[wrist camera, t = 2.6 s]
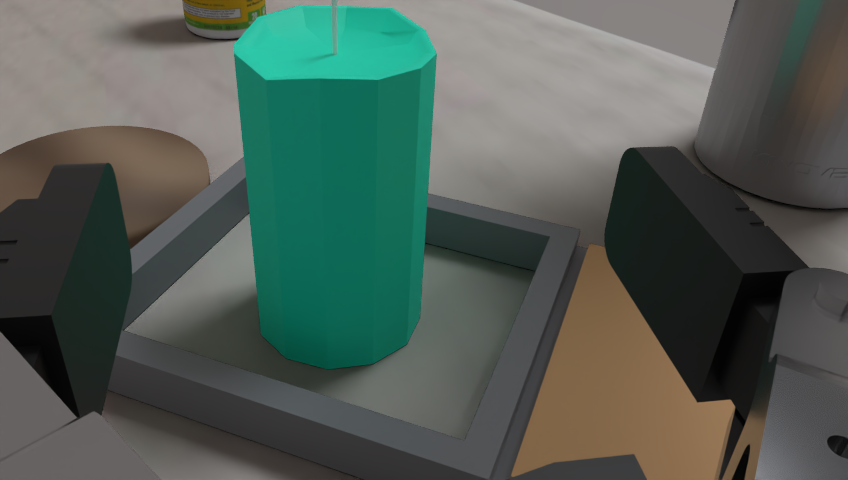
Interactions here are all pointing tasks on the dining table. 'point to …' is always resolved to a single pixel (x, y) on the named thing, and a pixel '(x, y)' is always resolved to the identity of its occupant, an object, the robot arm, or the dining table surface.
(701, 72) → the dining table surface
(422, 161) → the candle
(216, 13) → the supplement bottle
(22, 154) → the coaster
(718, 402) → the case
